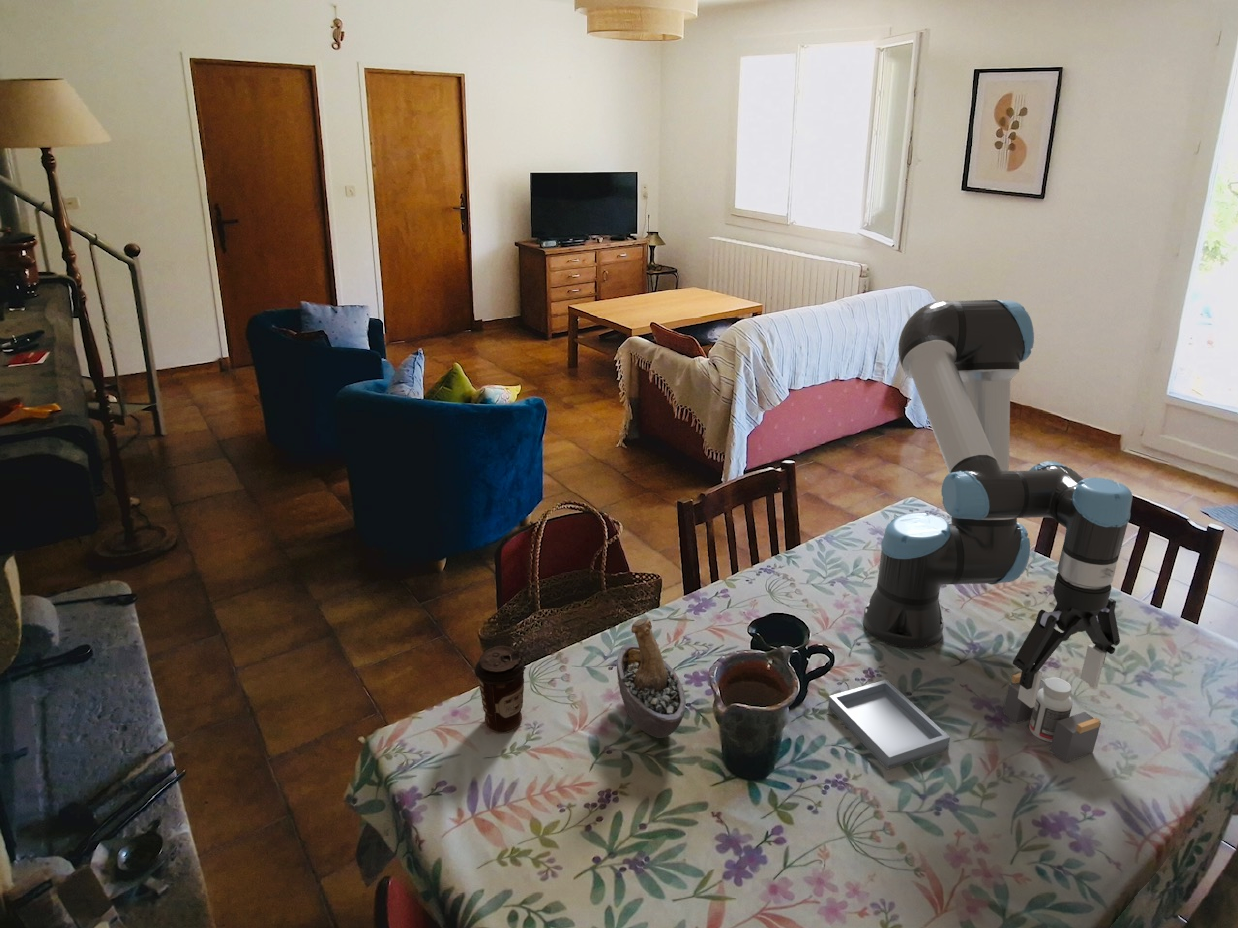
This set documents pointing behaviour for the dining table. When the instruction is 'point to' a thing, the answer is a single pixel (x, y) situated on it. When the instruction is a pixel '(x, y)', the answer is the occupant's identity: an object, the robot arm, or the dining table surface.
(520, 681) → the drink can
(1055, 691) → the pill bottle
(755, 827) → the dining table surface
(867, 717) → the tray
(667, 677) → the planter
